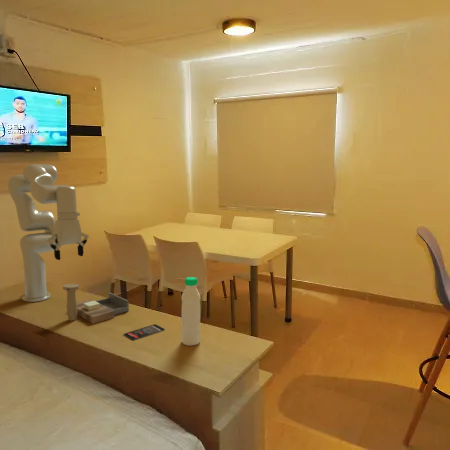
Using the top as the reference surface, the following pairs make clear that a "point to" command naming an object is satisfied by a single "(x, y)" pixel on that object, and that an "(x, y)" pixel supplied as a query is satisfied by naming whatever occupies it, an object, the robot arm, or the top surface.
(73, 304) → the handle
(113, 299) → the box
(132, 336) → the smartphone
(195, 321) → the water bottle
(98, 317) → the board
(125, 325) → the top surface
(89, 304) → the tile
